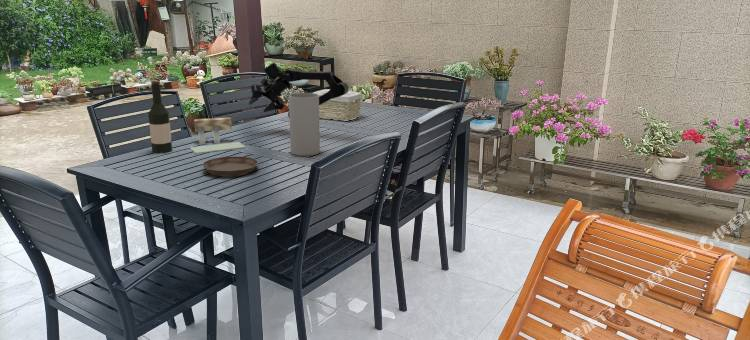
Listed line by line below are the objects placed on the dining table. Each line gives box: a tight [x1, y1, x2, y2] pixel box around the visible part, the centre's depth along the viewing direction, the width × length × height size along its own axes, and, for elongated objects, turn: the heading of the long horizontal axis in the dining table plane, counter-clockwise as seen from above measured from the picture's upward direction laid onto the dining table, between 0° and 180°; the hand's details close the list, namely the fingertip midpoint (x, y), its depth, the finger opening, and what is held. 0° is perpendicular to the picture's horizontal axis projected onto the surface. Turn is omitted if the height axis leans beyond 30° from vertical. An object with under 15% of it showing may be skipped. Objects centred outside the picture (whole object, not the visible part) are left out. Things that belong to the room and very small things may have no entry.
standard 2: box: [212, 125, 221, 144], centre depth 257 cm, size 2×8×8 cm, turn 20°
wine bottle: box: [147, 80, 173, 154], centre depth 236 cm, size 8×8×30 cm
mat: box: [189, 141, 247, 155], centre depth 246 cm, size 22×10×1 cm, turn 120°
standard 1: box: [197, 126, 206, 146], centre depth 255 cm, size 2×8×8 cm, turn 20°
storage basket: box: [312, 88, 363, 121], centre depth 310 cm, size 24×16×15 cm
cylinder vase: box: [288, 92, 321, 157], centre depth 237 cm, size 12×12×25 cm
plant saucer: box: [202, 155, 259, 178], centre depth 215 cm, size 21×21×3 cm
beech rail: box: [193, 117, 233, 133], centre depth 256 cm, size 16×4×5 cm, turn 110°
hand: (256, 107), depth 273 cm, fingers open, 9 cm apart
